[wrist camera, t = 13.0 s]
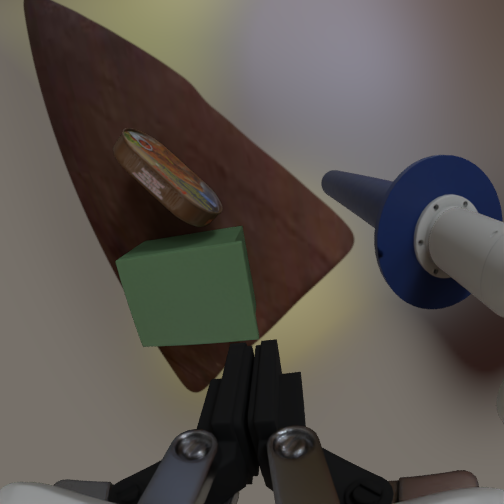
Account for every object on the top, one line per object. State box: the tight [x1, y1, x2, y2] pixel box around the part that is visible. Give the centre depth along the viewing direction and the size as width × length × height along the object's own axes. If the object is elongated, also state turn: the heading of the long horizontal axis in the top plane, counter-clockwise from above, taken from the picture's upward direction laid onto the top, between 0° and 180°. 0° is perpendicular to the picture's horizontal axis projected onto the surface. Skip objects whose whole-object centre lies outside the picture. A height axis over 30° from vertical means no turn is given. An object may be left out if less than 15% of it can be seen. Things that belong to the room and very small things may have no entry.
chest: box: [119, 226, 256, 312], centre depth 38 cm, size 14×11×8 cm
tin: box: [113, 128, 222, 227], centre depth 34 cm, size 15×3×8 cm, turn 47°
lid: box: [116, 241, 259, 347], centre depth 34 cm, size 14×11×1 cm
